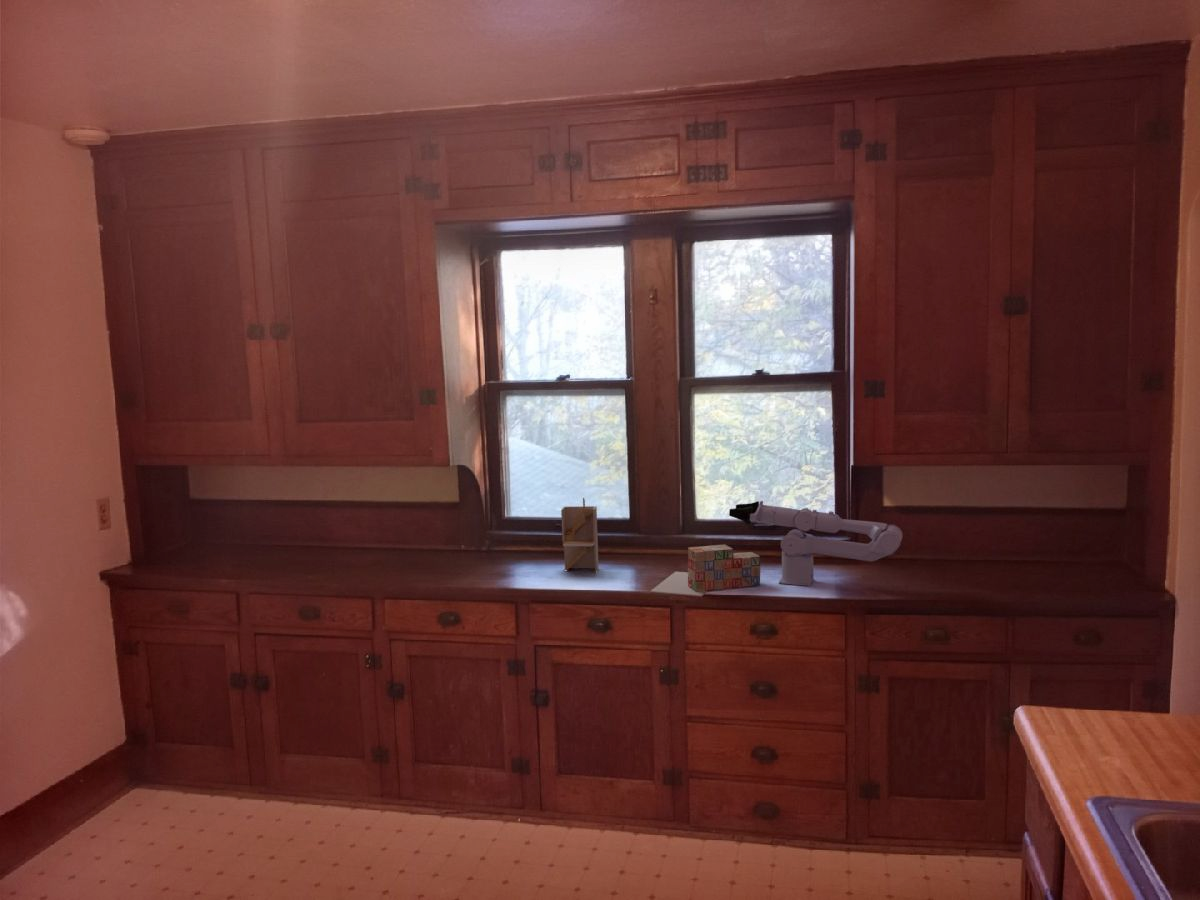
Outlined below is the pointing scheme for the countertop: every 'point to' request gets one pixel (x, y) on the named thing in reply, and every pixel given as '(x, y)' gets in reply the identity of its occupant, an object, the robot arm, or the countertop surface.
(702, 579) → the stack of blocks
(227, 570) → the countertop surface
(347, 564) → the countertop surface
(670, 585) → the mat
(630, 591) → the countertop surface
